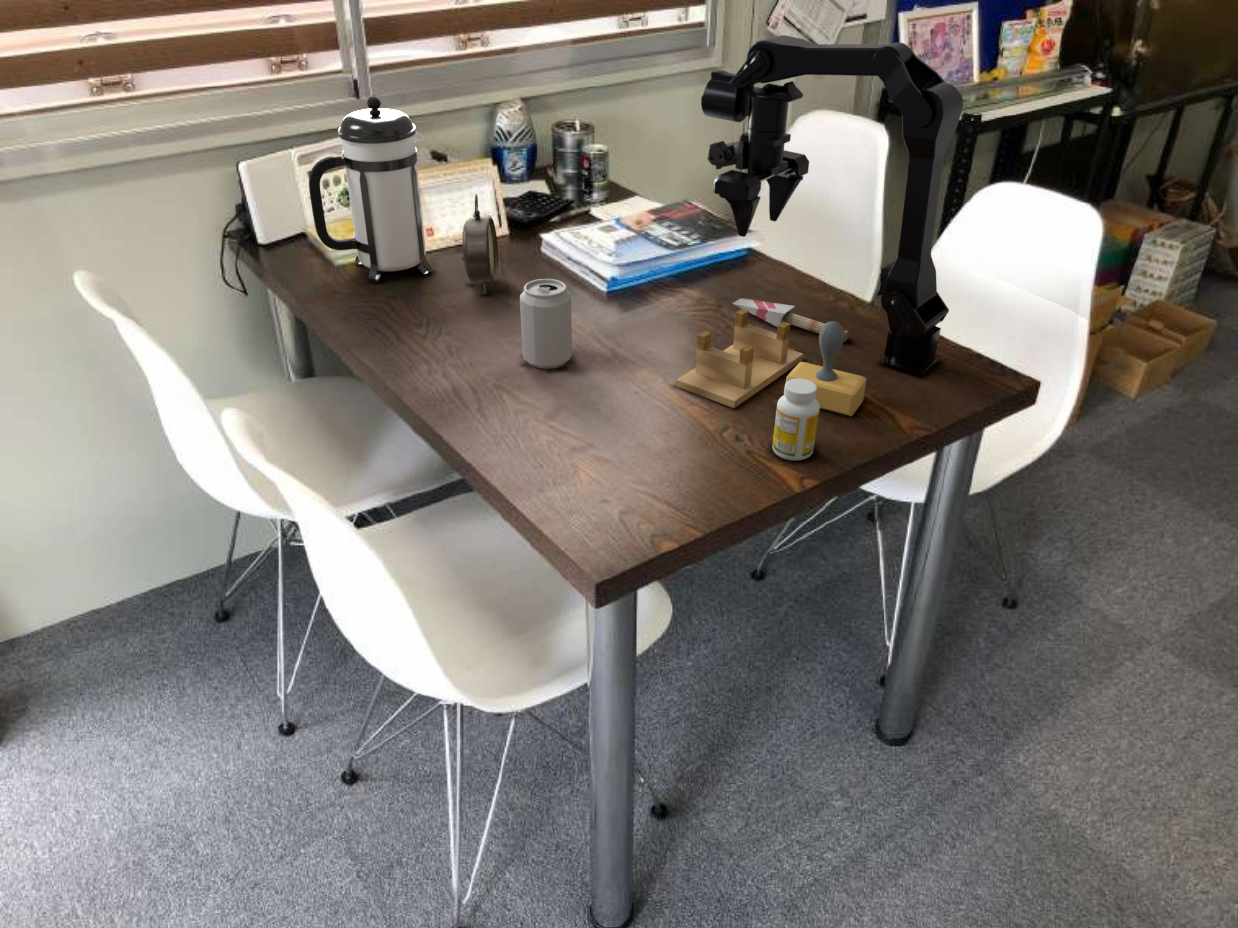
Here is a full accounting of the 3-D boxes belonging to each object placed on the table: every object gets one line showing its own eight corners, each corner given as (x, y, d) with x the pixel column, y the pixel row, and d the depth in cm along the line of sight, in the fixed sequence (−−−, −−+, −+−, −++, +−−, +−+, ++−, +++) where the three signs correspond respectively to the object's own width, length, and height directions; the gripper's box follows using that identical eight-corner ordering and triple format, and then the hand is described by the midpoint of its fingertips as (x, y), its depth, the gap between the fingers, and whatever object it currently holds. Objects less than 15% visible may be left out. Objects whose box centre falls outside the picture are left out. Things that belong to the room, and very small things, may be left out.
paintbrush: (743, 289, 168) (853, 325, 158) (741, 304, 169) (849, 340, 160) (731, 296, 165) (842, 333, 156) (729, 311, 167) (839, 349, 157)
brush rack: (802, 360, 153) (808, 317, 149) (734, 408, 140) (738, 362, 136) (746, 342, 158) (750, 299, 154) (676, 386, 145) (678, 341, 142)
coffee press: (378, 247, 191) (356, 82, 175) (450, 260, 186) (436, 91, 169) (320, 280, 177) (292, 104, 161) (397, 295, 172) (376, 115, 156)
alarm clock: (493, 298, 171) (487, 204, 163) (462, 297, 172) (454, 204, 163) (500, 273, 181) (495, 184, 172) (470, 273, 181) (464, 183, 172)
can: (580, 354, 154) (579, 281, 147) (557, 375, 148) (555, 299, 142) (537, 345, 156) (534, 272, 150) (513, 365, 151) (509, 290, 144)
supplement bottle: (777, 462, 129) (784, 397, 123) (767, 440, 133) (774, 376, 128) (818, 460, 129) (827, 395, 124) (807, 439, 134) (816, 375, 128)
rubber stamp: (783, 399, 142) (791, 322, 136) (797, 383, 147) (806, 307, 140) (850, 417, 138) (863, 338, 132) (863, 399, 143) (876, 322, 136)
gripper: (754, 107, 161) (746, 203, 169) (686, 130, 149) (682, 232, 157) (815, 119, 155) (804, 217, 164) (750, 144, 143) (742, 249, 151)
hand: (757, 228), depth 159 cm, fingers open, 9 cm apart
